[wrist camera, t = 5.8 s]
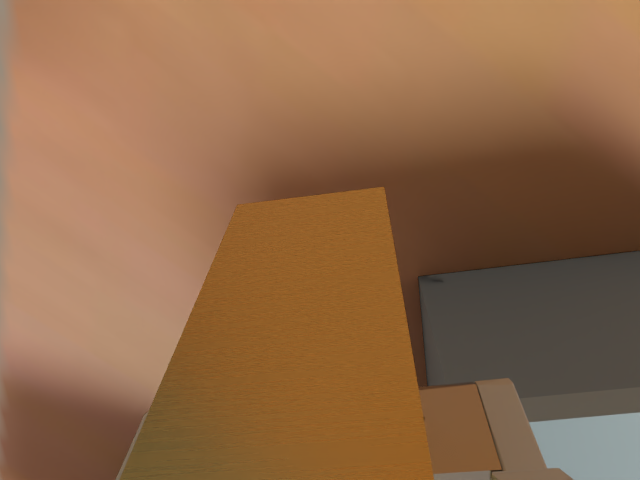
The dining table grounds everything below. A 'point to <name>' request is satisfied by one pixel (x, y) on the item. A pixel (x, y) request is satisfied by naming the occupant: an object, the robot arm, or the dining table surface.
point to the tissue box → (549, 352)
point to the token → (293, 355)
